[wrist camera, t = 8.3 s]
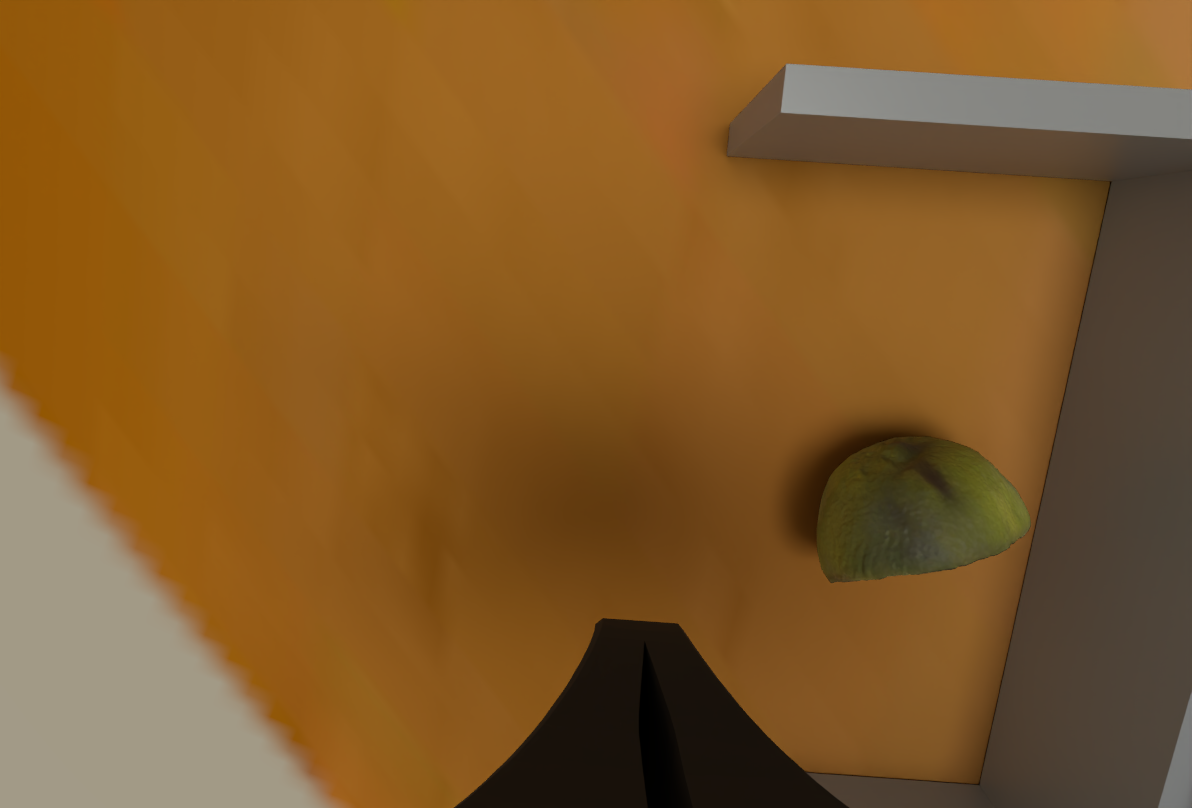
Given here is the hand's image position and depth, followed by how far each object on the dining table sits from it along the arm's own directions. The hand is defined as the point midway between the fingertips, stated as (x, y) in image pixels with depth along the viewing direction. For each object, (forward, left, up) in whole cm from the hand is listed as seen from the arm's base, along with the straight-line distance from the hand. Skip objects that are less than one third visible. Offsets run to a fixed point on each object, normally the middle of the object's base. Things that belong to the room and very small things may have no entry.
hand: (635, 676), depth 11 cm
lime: (0, -7, -9) cm, 12 cm away
